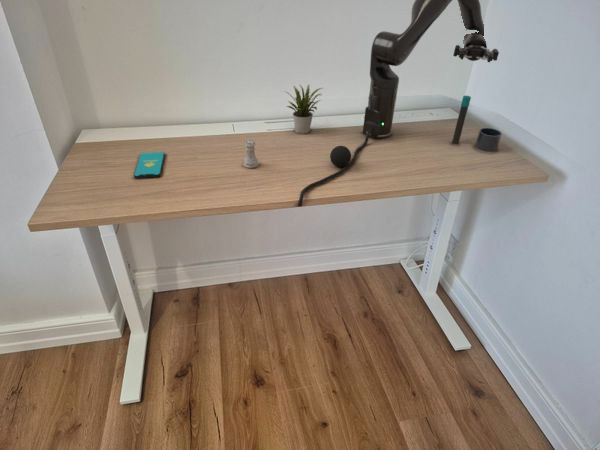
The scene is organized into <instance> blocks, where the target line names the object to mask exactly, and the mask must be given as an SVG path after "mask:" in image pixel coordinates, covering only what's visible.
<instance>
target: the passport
mask: <svg viewBox="0 0 600 450" xmlns="http://www.w3.org/2000/svg"><path fill="white" fill-rule="evenodd" d="M164 160H165V152H164V151H160V152H159V151H157V152H142V153H140V154H139V158H138V160H137V165H136V168H135V171H134V174H133V176H134V178H136V179H141V178H143V179H144V178H157V177H160V176H161V173H162V169H163V165H164Z"/></svg>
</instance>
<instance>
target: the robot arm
mask: <svg viewBox="0 0 600 450" xmlns="http://www.w3.org/2000/svg"><path fill="white" fill-rule="evenodd" d="M456 1H457V3H458V7H460V8H459V12H460V11H461V14H460V17H461V16H462V19H463V23H464V26H465V28H466V29H465V30H466V31H467V30H477V31H479V32H478V33H477V32H475V33H471V34H466V35H465V36H464V40H463V44H464V48H462V47H461V45H460V44H456V45H455V47H454V51H453V55H452V56H453V57H458V58H459V59H460V60H464V59H467V60H468V61H471V62H476V61H480V60H482V61H485V60H486V62H487V63H491V62H493V61H494V62H496V61H498V57H499V55H500V52H499V50H498V48H493V49H492V50H490V48H488V45H487V43H486V41H485V39H484V37H483V36H484V25H485V23H484V20H483V15H482V7H481V2H480V0H456ZM452 2H453V0H414V2H413V4H412V7H411V13H410V15H411V16H410V24H409V26H408V27H406V29H405V30H404V31H403V32H401V33H395V32H390V31H380V32H378V33H377V34H376V35H375V37H374V38H373V41H372V44H371V48H370V49H371V50H370V60H369V61H370V62H369V63H370V64H369V77H370V85H369V92H368V93H369V94H368V101H367V106H366V107H365V110H364V118H363V126H362V127H363V128H362V134H363V135H365V139H364V142H363V143H362V145H361V146H359V147H357V148H356V150H355V151H354V153H353V155H352V156H353V157H352V158H351V160H350V162H349V163H348V164H347V165H346V166H344V167H342V169H339V170H338V171H336V172H335V173H332V174H330V175H328V176H326V177H324V178H321V179H319V180H317V181H314V182H311V183H310V184H308V185H307V186H305V187H304V188H303V189H302V190H301V191H300V195H299V198H298V203H297V207H301V206H302V205H303V201H304V196H305V194H306V193H307V192H308V191H309V190H310V189H311V188H313V187H316V186H318V185H321V184H324V183H325V182H327V181H329V180H331V179H334V178H336V177H337V176H339V175H341V174H343V173H344V172H346V171H347V170H348V169H349V168H350V167H351V166H352V165H353V164H354V163H355V162H356V159H357V156H358V153H359V152H360V151H361V150H363V149H364V148H365V147H366V146H367V144H368V141H369V138H372V139H386V138H389V137H391V136H392V128H393V121H394V116H395V109H396V102H397V97H398V96H397V95H398V91H399V84H400V77H399V76H398V75H397V73H395V71H394V70H393V69H392V68H391V67H392V66H393V67H399V66H401V65H402V64H404V62H406V60H407V59H408V58H409V57H410V55H411V54H412V52H413V51H414V49H415V48H416V47H417V45H418V43H419V41H420V40H421V39H422V38H423V36H424V35H425V34H426V32H427V31H428V30H429V29H430V28H431V26H432V25H433V24H434V23H435V21H436V20H438V18H439V17H440V16H441V15H442V13H444V11H445V10H446V9H447V7H448V6H449V5H450V4H451V3H452ZM483 23H484V24H483Z"/></svg>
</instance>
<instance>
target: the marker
mask: <svg viewBox="0 0 600 450" xmlns="http://www.w3.org/2000/svg"><path fill="white" fill-rule="evenodd" d="M471 99H472V97H471V96H470V95H463V96H462V99H461V104H460V109H459V113H458V117H457V120H456V124H455V129H454V133H453V137H452V141H451V143H452V144H453V145H459V143H460V140H461V137H462V136H461V135H462V133H463V128H464V125H465V121H466V117H467V113H468V109H469V107H470V103H471Z"/></svg>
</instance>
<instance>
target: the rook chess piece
mask: <svg viewBox="0 0 600 450" xmlns="http://www.w3.org/2000/svg"><path fill="white" fill-rule="evenodd" d="M244 146H245V151H246V152H245V157H244V159H243V166H244V167H245V168H246V169H255V168H257V167H258V166H259V160H258V158H257V156H256V152H255V150H256V147H255V146H256V142H255V140H254V139H251V138H249V139H245V143H244Z"/></svg>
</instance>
